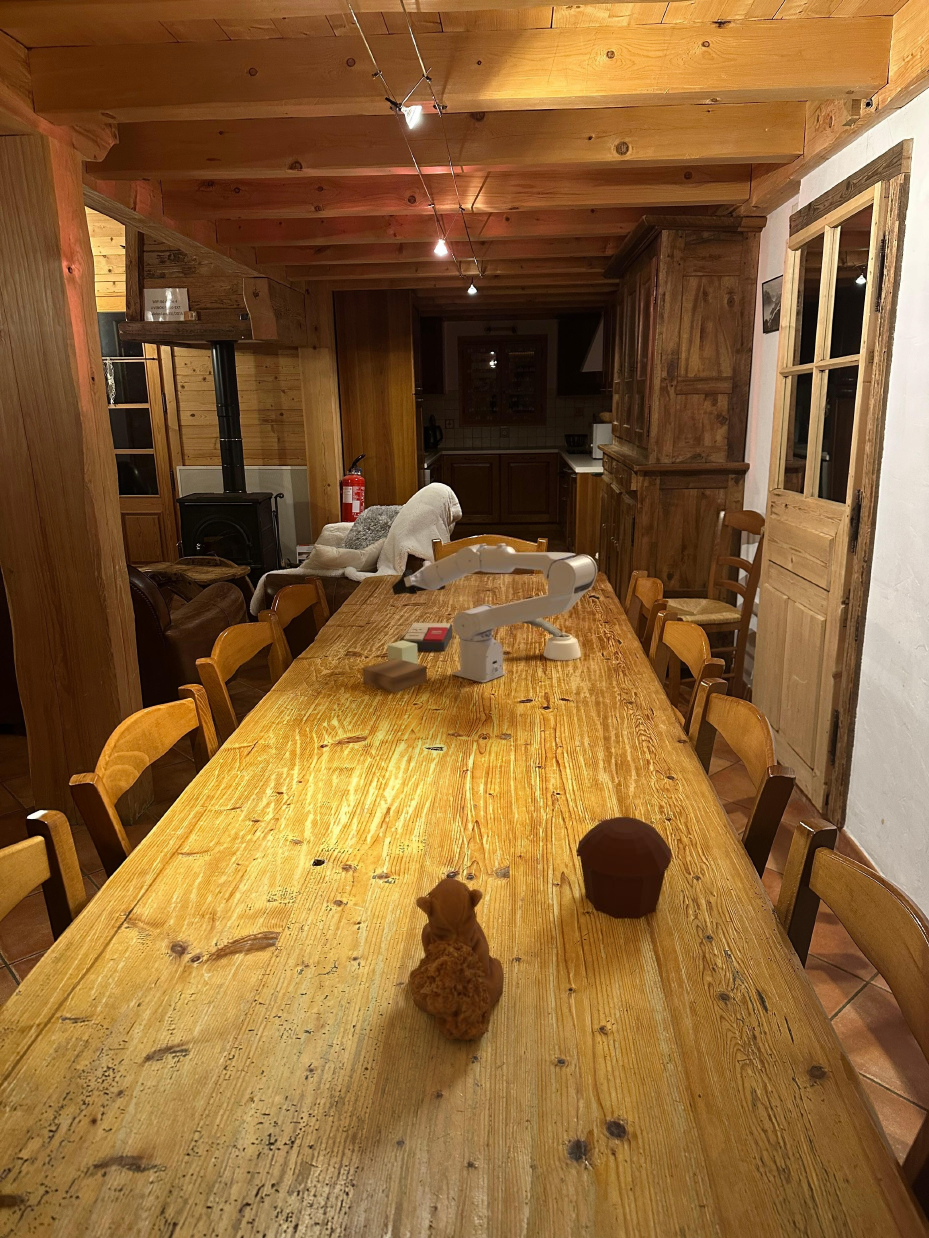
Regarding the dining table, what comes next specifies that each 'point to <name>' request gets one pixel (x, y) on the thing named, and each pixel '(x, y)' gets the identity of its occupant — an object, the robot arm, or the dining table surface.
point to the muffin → (623, 867)
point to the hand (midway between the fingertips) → (405, 588)
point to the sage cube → (403, 651)
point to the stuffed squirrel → (455, 963)
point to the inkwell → (557, 642)
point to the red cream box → (429, 636)
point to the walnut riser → (395, 675)
